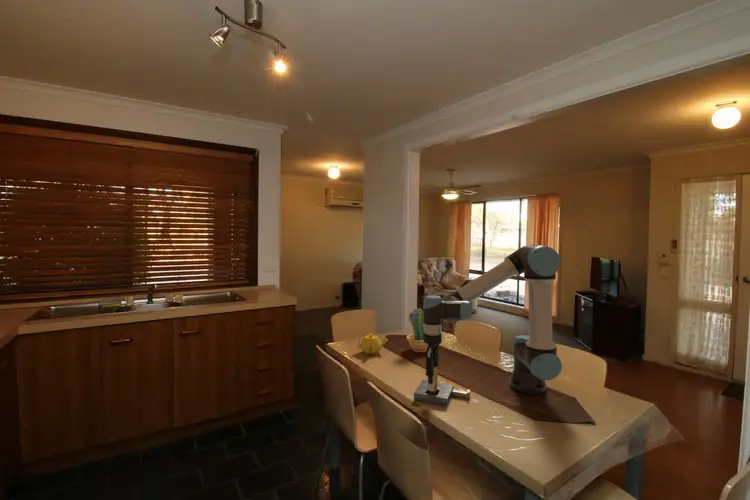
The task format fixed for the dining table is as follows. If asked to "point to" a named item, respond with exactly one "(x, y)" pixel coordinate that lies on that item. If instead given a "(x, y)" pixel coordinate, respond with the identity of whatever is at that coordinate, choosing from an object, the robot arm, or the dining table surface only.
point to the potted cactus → (417, 331)
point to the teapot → (371, 344)
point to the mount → (440, 399)
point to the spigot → (434, 383)
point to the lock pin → (461, 393)
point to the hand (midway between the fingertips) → (432, 387)
